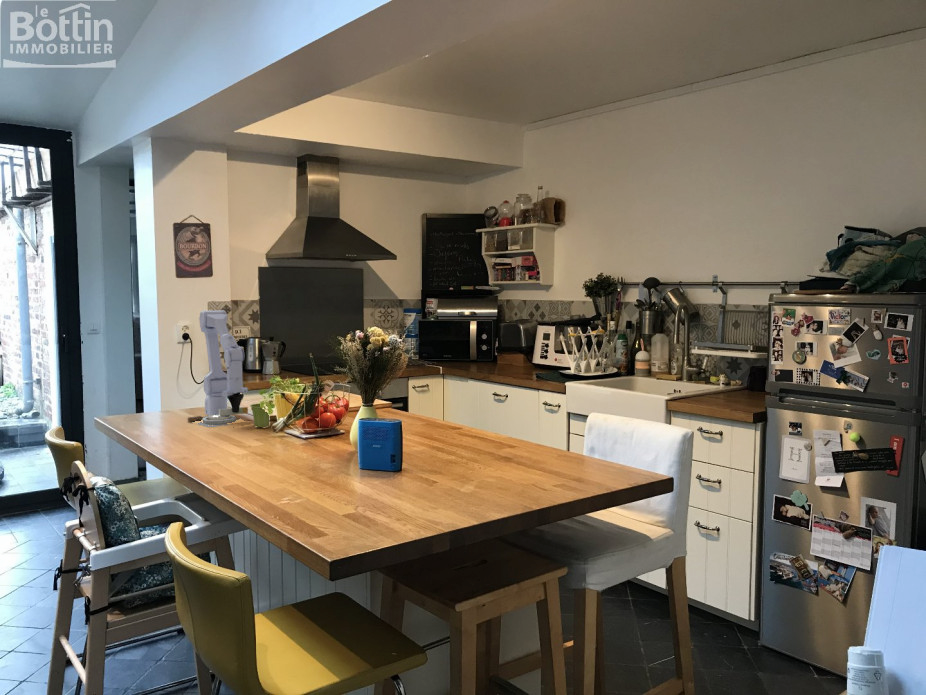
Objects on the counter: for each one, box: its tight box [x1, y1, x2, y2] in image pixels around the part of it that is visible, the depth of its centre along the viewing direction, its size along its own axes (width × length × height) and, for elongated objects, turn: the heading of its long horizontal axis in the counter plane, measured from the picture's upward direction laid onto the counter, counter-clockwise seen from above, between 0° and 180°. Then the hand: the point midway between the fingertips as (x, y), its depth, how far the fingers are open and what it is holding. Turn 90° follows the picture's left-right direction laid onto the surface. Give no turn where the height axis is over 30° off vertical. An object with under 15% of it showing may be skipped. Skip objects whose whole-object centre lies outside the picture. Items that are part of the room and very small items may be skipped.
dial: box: [208, 406, 249, 420], centre depth 294 cm, size 15×8×5 cm, turn 121°
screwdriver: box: [187, 415, 209, 423], centre depth 295 cm, size 12×2×2 cm, turn 138°
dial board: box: [198, 415, 239, 428], centre depth 293 cm, size 18×18×2 cm
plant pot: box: [249, 403, 269, 427], centre depth 284 cm, size 9×9×9 cm
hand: (235, 412), depth 294 cm, fingers closed, pressing on dial
